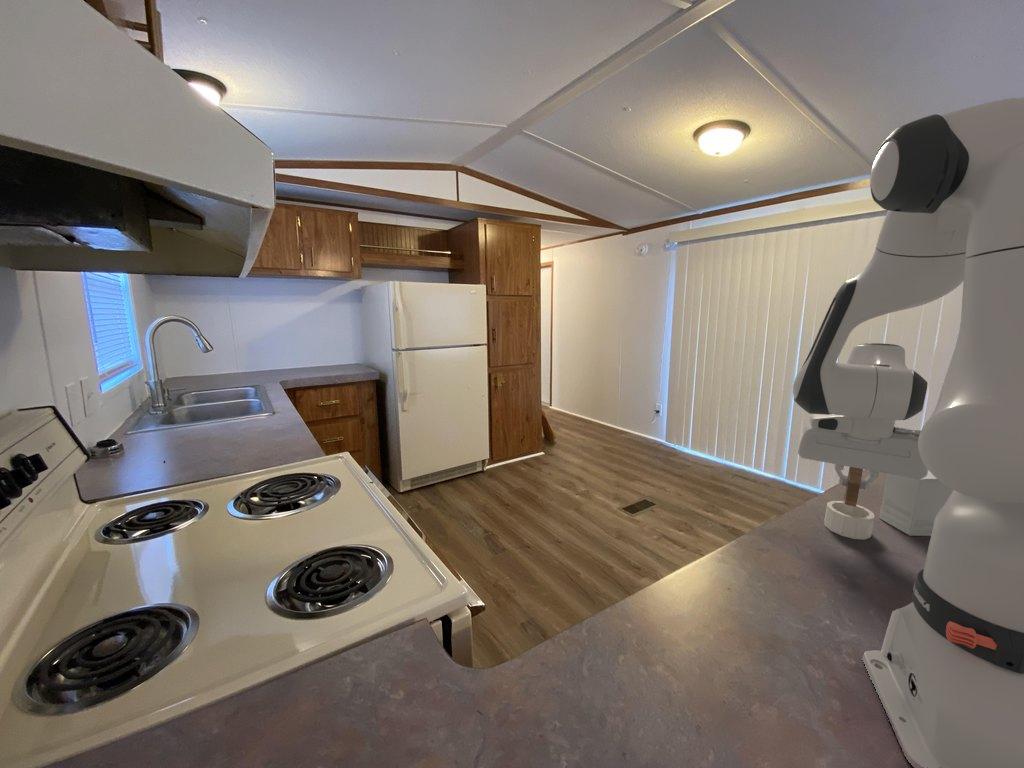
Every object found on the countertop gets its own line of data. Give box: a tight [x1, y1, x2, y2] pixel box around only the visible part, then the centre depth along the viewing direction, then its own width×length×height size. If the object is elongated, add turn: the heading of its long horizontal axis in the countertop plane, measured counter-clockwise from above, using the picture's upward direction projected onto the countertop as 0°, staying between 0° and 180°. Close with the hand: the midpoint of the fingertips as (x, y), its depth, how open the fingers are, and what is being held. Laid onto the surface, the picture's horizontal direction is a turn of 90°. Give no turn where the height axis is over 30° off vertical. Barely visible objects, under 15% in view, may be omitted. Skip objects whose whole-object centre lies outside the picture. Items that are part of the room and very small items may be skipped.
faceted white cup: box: [823, 500, 875, 540], centre depth 86 cm, size 8×8×4 cm
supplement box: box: [879, 470, 953, 537], centre depth 86 cm, size 7×7×13 cm
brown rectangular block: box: [843, 467, 864, 507], centre depth 84 cm, size 3×2×10 cm, turn 144°
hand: (852, 486), depth 84 cm, fingers closed on brown rectangular block, 2 cm apart
